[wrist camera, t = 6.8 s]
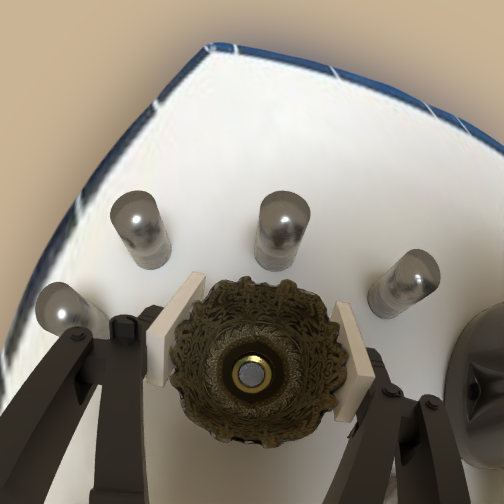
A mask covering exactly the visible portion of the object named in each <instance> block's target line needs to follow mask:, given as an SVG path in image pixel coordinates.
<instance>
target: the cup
mask: <svg viewBox="0 0 504 504" xmlns="http://www.w3.org/2000/svg"><path fill="white" fill-rule="evenodd" d="M189 313H190V318H189V319H186V320H183V322H182V323H180V324H179V325H178V326H177V327H176V329H175V332H174V334H175V341H174V342H173V343H172V345H171V346H170V349H169V357H170V361H171V363H172V365H173V367H174V368H175V372H174V373H173V374H172V375H171V376H170V377H169V378H170V382H171V384H172V386H173V387H174V388H176V389H177V390H178V392H179V395H180V399H181V406H182V408H183V411H184V413H185V414H186V416H187V417H188V418H189V419H190V420H191V421H193V422H194V423H195V424H197V425H198V426H200V427H202V428H204V429H206V430H207V431H209V432H210V434H211V436H213V437H214V438H215V439H217V440H218V441H220V442H223V443H229V442H230V441H233V440H234V441H239V442H242V443H244V444H260V445H262V446H263V448H275V447H278V446H280V445H282V444H283V443H284V442H287V441H295V440H298V439H301V438H304V437H306V436H308V435H310V434H311V433H313V432H314V431H315V430H316V428H317V427H318V425H319V424H320V422H321V419H322V417H323V416H324V413H326V412H330V411H331V410H333V409H334V408H335V407H336V406H337V405H338V403H339V401H338V400H337V398H336V396H335V395H334V392H336V391H337V390H339V389H340V388H341V387H342V386H343V385H344V383H345V382H346V379H347V367H345V365H346V360H347V358H348V353H347V352H346V350H345V349H344V348H343V347H342V344H341V343H339V342H337V339H338V336H339V335H340V333H339V330H340V324H339V323H337V322H331V321H330V320H329V318H328V316H327V309H326V307H325V305H324V303H323V302H322V300H321V298H320V297H319V296H318V295H317V294H315V293H313V292H308V291H305V290H303V289H299V288H297V285H296V283H294V282H293V281H291V280H288V279H285V280H282V281H281V283H280V284H279V285H277V286H272V285H269V284H267V283H260V284H256V283H254V281H252V280H251V277H249V276H244V277H242V278H240V279H239V281H238V282H233V281H229V280H221V281H219V282H218V283H216V284H215V285H214V286H213V287H212V289H211V290H210V292H209V294H208V296H207V297H206V298H205V299H204V300H203V301H200V300H193V302H192V303H191V305H190V308H189ZM249 362H254V363H257V364H259V365H260V366H261V367H262V368H263V370H264V379H263V381H262V382H261V383H260V384H259V385H257V386H255V387H249V386H246V385H244V384H243V383H242V382H241V381H240V378H239V371H240V369H241V367H242V366H243V365H244V364H246V363H249Z"/></svg>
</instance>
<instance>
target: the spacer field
mask: <svg viewBox="0 0 504 504" xmlns="http://www.w3.org/2000/svg"><path fill="white" fill-rule="evenodd" d="M110 219H111V222H112V224H113V226H114V227H115V229H116V231H117V232H118V234H119V236H120V237H121V239H122V241H123V242H124V244H125V246H126V247H127V249H128V251H129V252H130V254H131V255H132V257H133V259H134V260H135V262H136V263H137V264H138V265H139V266H140V267H141V268H144V269H147V270H153V269H157V268H160V267H161V266H163V265H164V264H165V263H166V262H167V261H168V259H169V258H170V255H171V245H170V242H169V239H168V236H167V234H166V231H165V228H164V225H163V222H162V219H161V216H160V213H159V211H158V208H157V205H156V202H155V199H154V198H153V196H152V195H150V194H149V193H147V192H145V191H131V192H128V193H126V194H124V195H122V196H121V197H120V198H118V199H117V200H116V202H115V203H114V204H113V206H112V208H111V212H110ZM309 220H310V208H309V206H308V204H307V202H306V201H305V200H304V199H303V198H302V197H300V196H299V195H297V194H295V193H293V192H289V191H277V192H273V193H271V194H269V195H268V196H266V197H265V198H264V200H263V201H262V203H261V207H260V214H259V221H258V229H257V236H256V244H255V252H254V253H255V258H256V260H257V262H258V263H259V264H260V265H261V266H262V267H263V268H265V269H267V270H270V271H282V270H284V269H286V268H288V267H289V266H290V265H291V264H292V262H293V260H294V258H295V255H296V253H297V250H298V248H299V245H300V243H301V240H302V238H303V235H304V232H305V230H306V227H307V225H308V222H309ZM439 283H440V270H439V267H438V265H437V263H436V261H435V260H434V258H433V257H432V256H431V255H430V254H428V253H427V252H425V251H423V250H420V249H413V250H410V251H408V252H407V253H406V254H405V255H404V256H403V257H402V258H401V259H400V260H399V261H398V262H397V263H396V264H395V265H394V266H393V267H392V268H391V269H390V270H389V271H388V272H387V273H386V274H385V275H384V276H383V277H381V278H380V279H379V280H378V281H377V282H376V283H375V284H374V285H373V286H372V287H371V289H370V290H369V293H368V303H369V306H370V308H371V310H372V311H373V313H374V314H375V315H377V316H378V317H380V318H383V319H391V318H393V317H395V316H397V315H398V314H400V313H402V312H403V311H405V310H406V309H408V308H410V307H411V306H413V305H414V304H416V303H417V302H419V301H420V300H422V299H423V298H425V297H426V296H428V295H429V294H431V293H432V292H434V291H435V290H436V289H437V288H438V286H439ZM35 312H36V318H37V321H38V323H39V324H40V326H41V327H42V328H43V329H45V330H46V331H48V332H50V333H52V334H54V335H57V336H59V337H60V336H61V335H62V334H63V333H64V331H65V330H67V329H68V328H71V327H74V326H82V327H86V328H88V329H89V330H90V331H92V334H93V338H98V339H109V337H110V329H109V319H108V318H107V316H106V315H105V314H104V313H102V312H101V311H100V310H99V309H97V308H96V307H95V306H93V305H92V304H91V303H90V302H88V301H87V300H86V299H85V298H83V297H82V296H81V295H80V294H78V293H77V292H76V291H75V290H74V289H72V288H71V287H70V286H69V285H67V284H66V283H63V282H54V283H51V284H49V285H48V286H46V287H45V288H44V289H43V290H42V292H41V293H40V295H39V297H38V299H37V302H36V307H35ZM383 504H398V498H397V480H396V477H393V478H390V479H389V482H388V486H387V490H386V494H385V498H384V501H383Z"/></svg>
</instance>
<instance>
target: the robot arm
mask: <svg viewBox="0 0 504 504" xmlns="http://www.w3.org/2000/svg"><path fill="white" fill-rule="evenodd" d="M205 278H206V274H201V273H197V272H192V274H191V275H190V276H189V277H188V279H187V280H186V281H185V282H184V284H183V285H182V286H181V287H180V289H179V290H178V291H177V293H176V294H175V295H174V296H173V298H172V299H171V300H170V301H169V303H168V304H167V305H166V307H165V308H164V307H160V306H156V305H152V306H150V307H147V308H145V310H144V311H143V312H142V313H141V315H139V316H138V317H137V318H136V317H134V316H132V315H117V316H114V317H113V318H111V320H110V321H109V329H110V339H98V338H93V334H92V331H90V330H89V329H88V328H86V327H82V326H74V327H71V328H68V329H67V330H65V331H64V333H63V334H62V335H61V336H60V337H59V339H58V340H57V341H56V342H55V344H54V345H53V346H52V347H51V349H50V350H49V351H48V352H47V354H46V355H45V356H44V357H43V359H42V360H41V361H40V363H39V364H38V365H37V366H36V368H35V369H34V370H33V372H32V373H31V374H30V376H29V377H28V378H27V380H26V381H25V382H24V384H23V385H22V386H21V388H20V389H19V391H18V392H17V393H16V395H15V396H14V398H13V399H12V400H11V402H10V403H9V405H8V406H7V408H6V409H5V410H4V412H3V413H2V415H1V416H0V504H44V501H45V499H46V496H47V494H48V491H49V489H50V486H51V484H52V482H53V479H54V477H55V474H56V472H57V470H58V467H59V465H60V463H61V461H62V458H63V456H64V454H65V452H66V449H67V447H68V445H69V443H70V441H71V439H72V436H73V434H74V432H75V430H76V428H77V426H78V424H79V422H80V420H81V417H82V415H83V413H84V411H85V409H86V407H87V405H88V403H89V401H90V399H91V397H92V395H93V393H94V391H95V389H96V387H97V386H98V384H99V385H102V393H101V401H100V409H99V418H98V428H97V440H96V454H95V474H94V487H93V489H91V491H90V495H89V504H149V496H148V486H147V475H146V462H145V447H144V425H143V379H144V377H145V375H146V374H147V383H150V384H153V385H157V386H160V387H164V385H165V383H166V381H167V379H168V377H169V375H170V373H171V371H172V370H173V368H174V367H173V365H172V363H171V361H170V357H169V349H170V346H171V345H172V343H173V342H174V341H175V334H174V332H175V329H176V327H177V326H178V325H179V324H180V323H182V322H183V320H186V319H189V318H190V313H189V308H190V305H191V303H192V302H193V300H200V301H203V293H204V285H205ZM330 321H331V322H337V323H339V324H340V330H339V333H340V335H339V336H338V339H337V342H339V343H341V344H342V347H343V348H344V349H345V350H346V352H347V353H348V358H347V360H346V365H345V367H347V379H346V382H345V383H344V385H343V386H342V387H341V388H340V389H339V390H337V391H336V392H334V395H335V396H336V398H337V400H338V401H339V403H338V405H337V406H336V407H335V408H334V409H333V410H334V418H335V421H340V422H351V421H352V420H353V418H354V416H355V414H356V416H357V422H356V424H355V426H354V427H353V429H352V431H351V432H350V434H349V436H348V437H347V438H348V439H349V438H350V439H349V441H348V444H347V447H346V449H345V452H344V454H343V457H342V459H341V462H340V464H339V467H338V469H337V472H336V474H335V477H334V479H333V481H332V483H331V486H330V488H329V490H328V492H327V495H326V497H325V499H324V501H323V503H322V504H383V501H384V498H385V494H386V490H387V486H388V482H389V478H390V474H391V469H392V465H393V460H394V455H395V467H396V480H397V498H398V504H471V501H470V496H469V492H468V487H467V482H466V478H465V474H464V470H463V466H462V462H461V458H462V459H463V460H464V461H465V462H467V463H468V464H470V465H472V466H474V467H477V468H485V469H504V302H502V303H499V304H496V305H494V306H492V307H491V308H489V309H487V310H485V311H483V312H481V313H480V314H478V315H477V316H475V317H474V318H473V319H472V320H471V321H470V322H469V323H468V325H467V326H466V327H465V329H464V330H463V332H462V334H461V335H460V337H459V339H458V341H457V343H456V346H455V348H454V351H453V354H452V357H451V360H450V364H449V368H448V373H447V379H446V388H445V405H444V403H443V402H442V401H441V400H440V399H439V398H438V397H436V396H434V395H430V394H425V395H423V396H422V397H421V398H420V400H419V401H415V400H411V399H408V398H405V397H404V394H403V391H402V390H401V389H400V388H399V387H398V386H397V385H395V384H392V383H391V381H390V379H389V376H388V373H387V371H386V368H385V366H384V363H383V361H382V358H381V356H380V354H379V353H378V352H377V351H376V350H375V349H373V348H366V347H365V345H364V343H363V340H362V337H361V334H360V332H359V329H358V326H357V323H356V321H355V318H354V315H353V313H352V310H351V307H350V305H349V303H343V302H338V301H336V304H335V308H334V311H333V314H332V317H331V320H330ZM460 457H461V458H460Z"/></svg>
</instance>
